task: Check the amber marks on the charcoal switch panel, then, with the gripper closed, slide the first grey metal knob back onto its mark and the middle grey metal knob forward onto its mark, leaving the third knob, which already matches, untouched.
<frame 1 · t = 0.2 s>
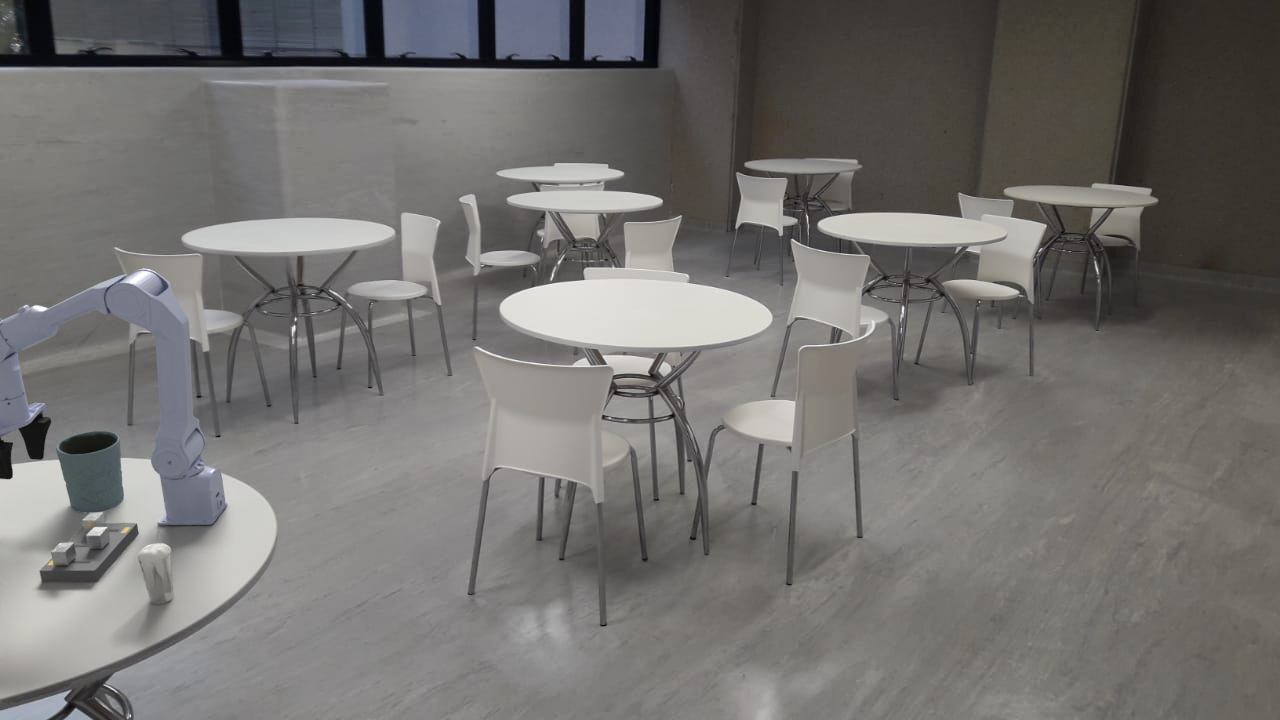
hand: (21, 468, 171), 10 cm above the table, tool pointing down, fingers open, 7 cm apart
teal plant pot: (99, 502, 181), on the table
switch panel: (92, 556, 163), on the table
knob c: (63, 553, 157), point 3 cm above the table, slide at 3.0 cm
knob a: (94, 522, 167), point 3 cm above the table, slide at 3.0 cm
knob b: (98, 537, 162), point 3 cm above the table, slide at 0.0 cm
milkshake: (163, 598, 153), on the table
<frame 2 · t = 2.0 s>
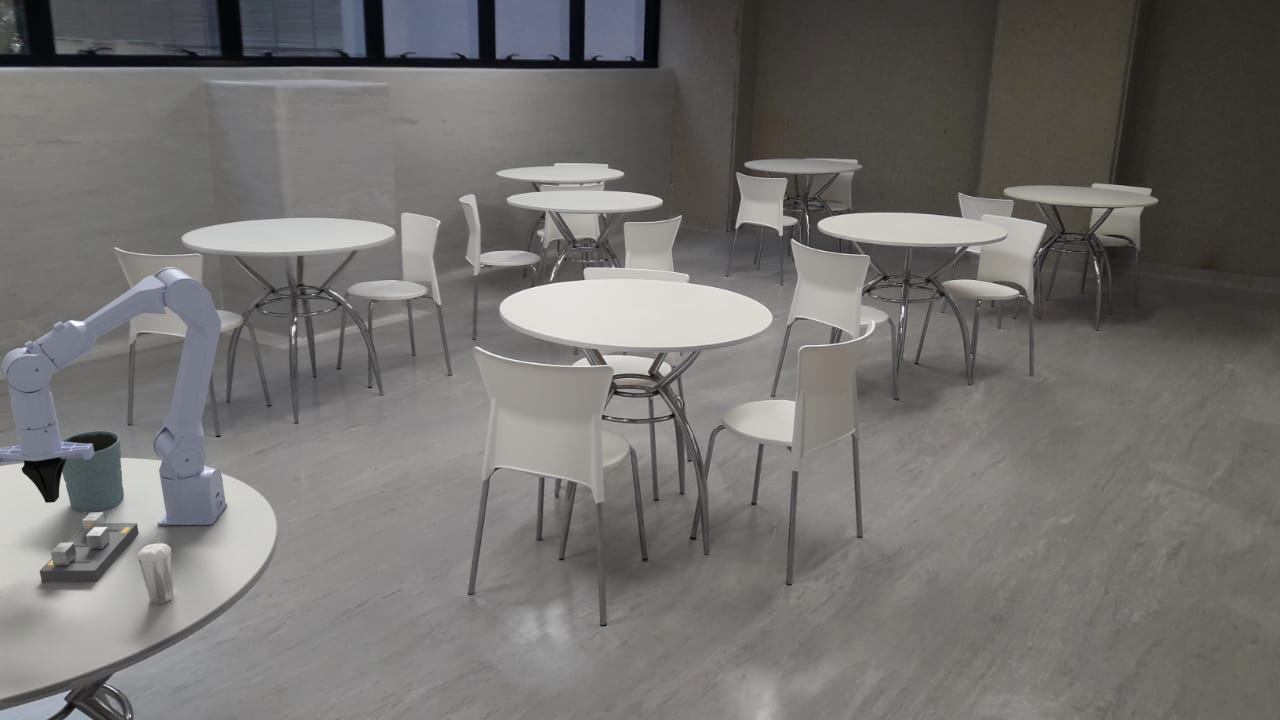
hand: (52, 499, 162), 9 cm above the table, tool pointing down, fingers closed
nothing on the table moved.
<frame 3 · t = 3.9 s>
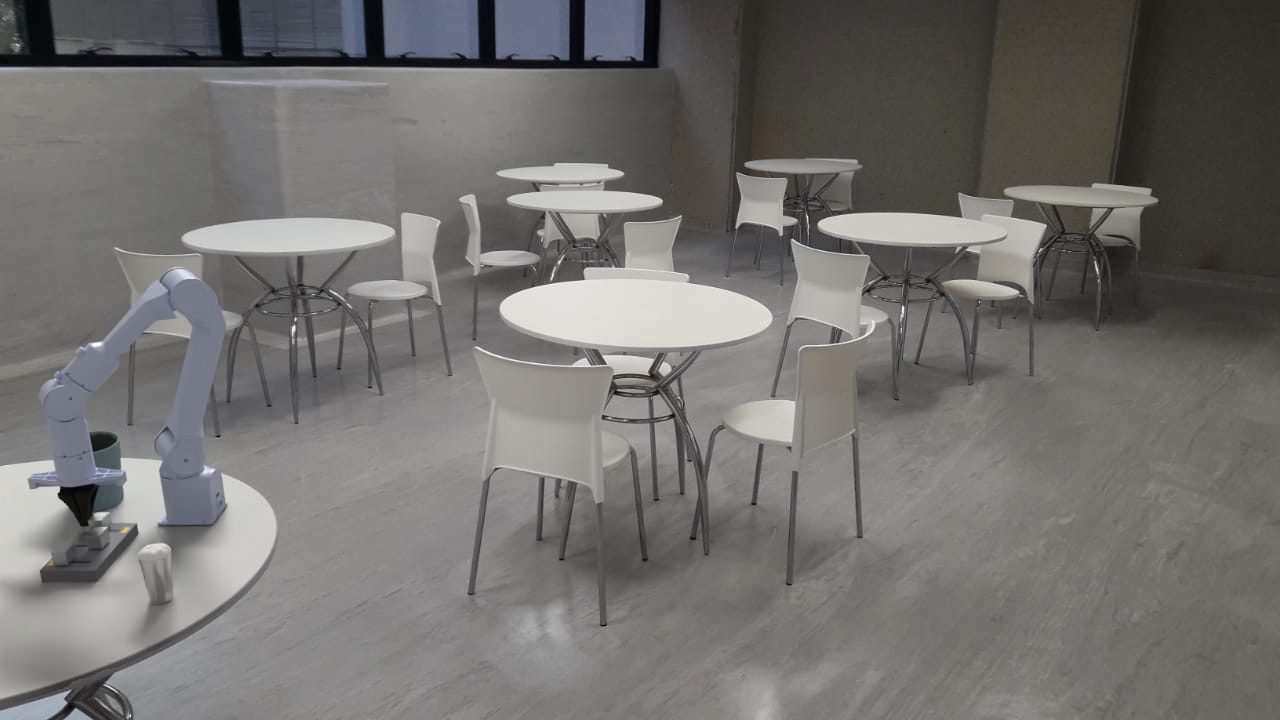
hand: (86, 523, 167), 3 cm above the table, tool pointing down, fingers closed
knob a: (99, 522, 167), point 3 cm above the table, slide at 2.1 cm, touching gripper
everything else where it was.
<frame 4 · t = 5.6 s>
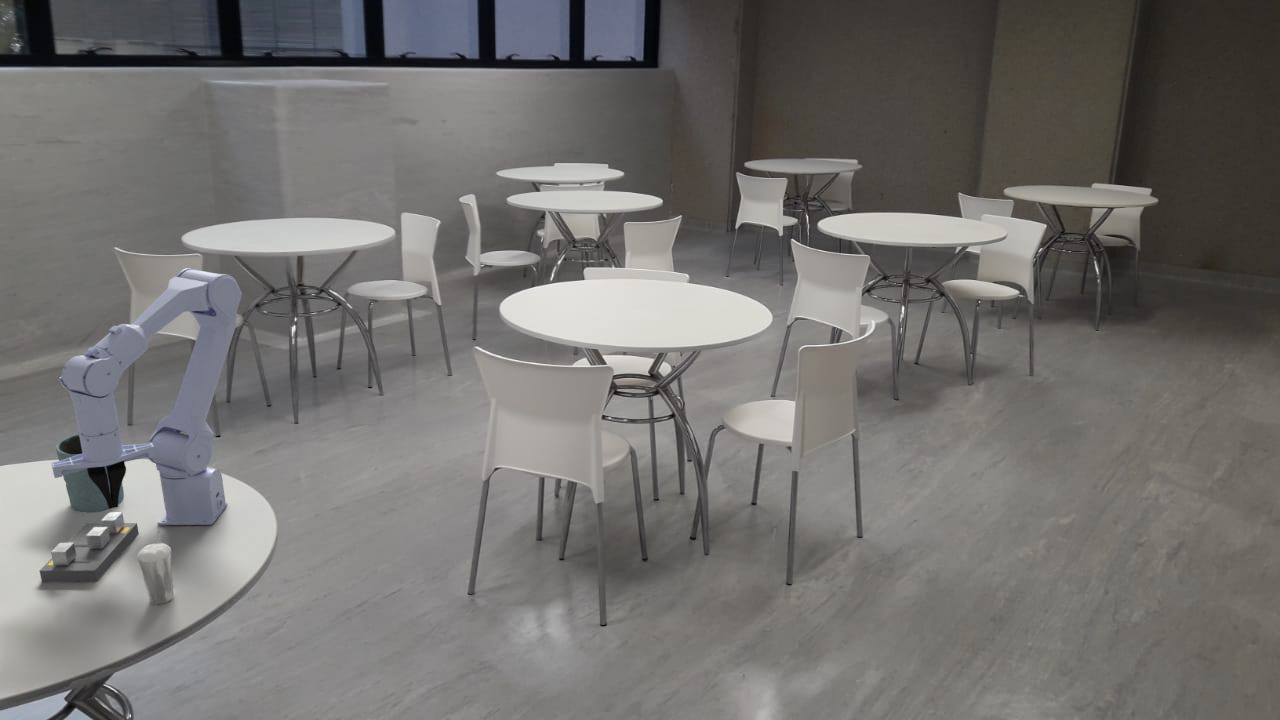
hand: (112, 505, 162), 8 cm above the table, tool pointing down, fingers closed
knob a: (112, 522, 167), point 3 cm above the table, slide at -0.1 cm
everything else where it was.
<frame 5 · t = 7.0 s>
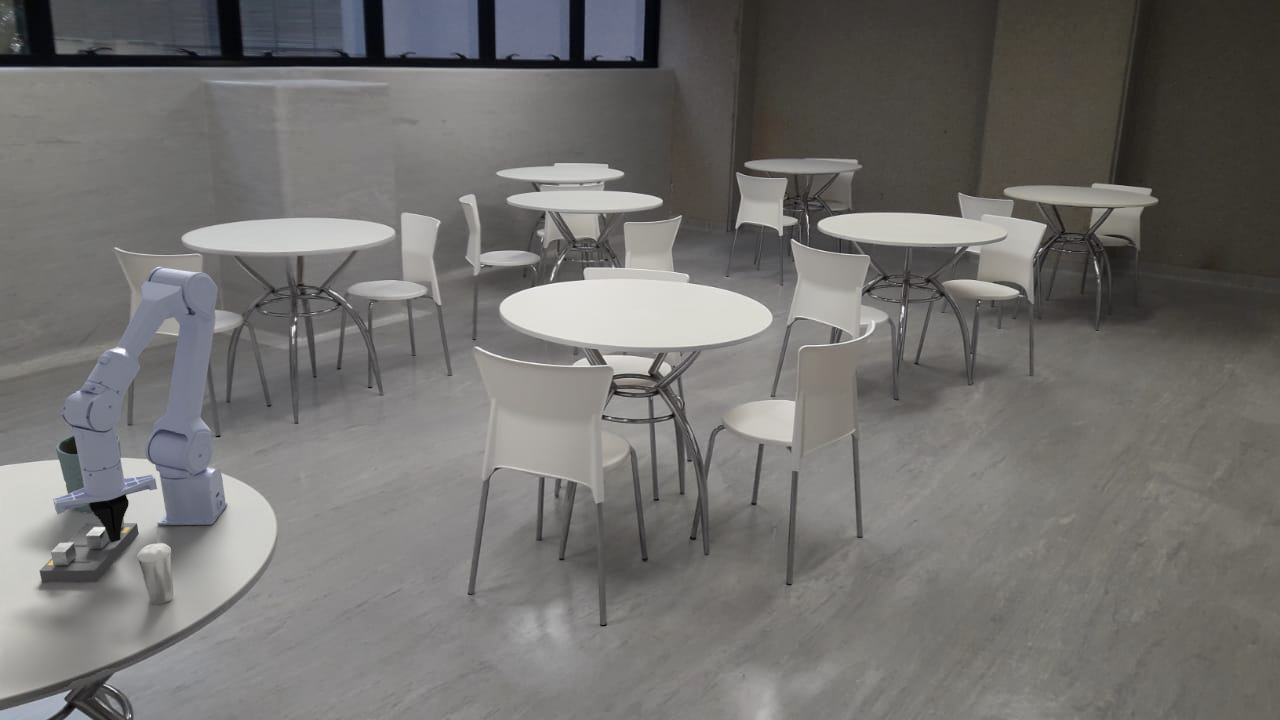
hand: (114, 538, 162), 3 cm above the table, tool pointing down, fingers closed
knob b: (97, 537, 162), point 3 cm above the table, slide at 0.0 cm, touching gripper
everything else where it was.
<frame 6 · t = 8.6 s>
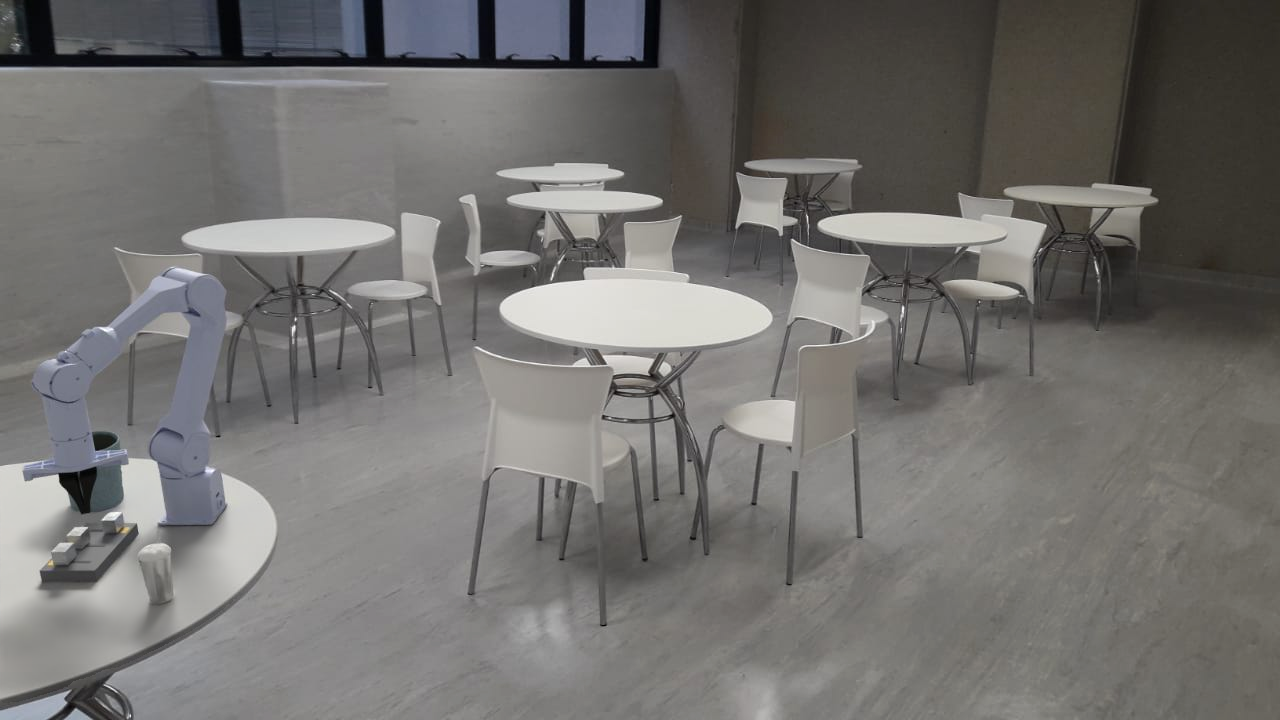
hand: (85, 511, 160), 8 cm above the table, tool pointing down, fingers closed
knob b: (78, 537, 162), point 3 cm above the table, slide at 3.1 cm
everything else where it was.
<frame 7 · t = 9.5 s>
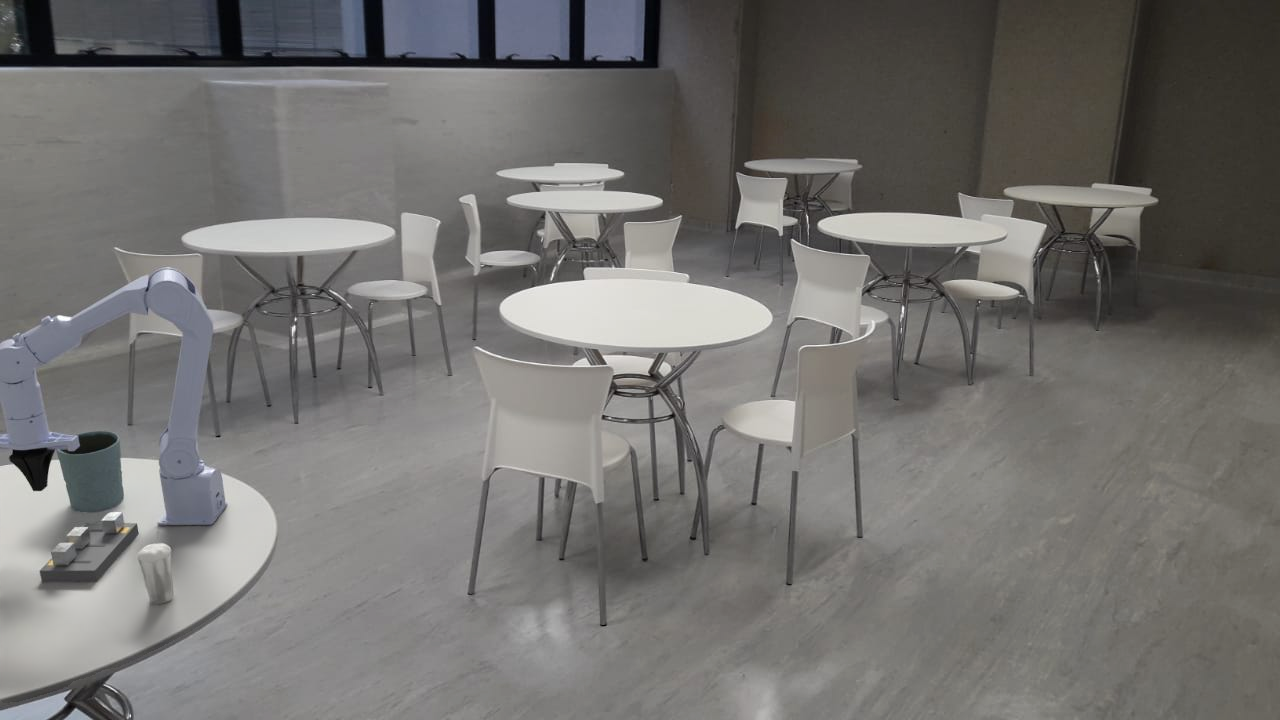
hand: (40, 488, 165), 9 cm above the table, tool pointing down, fingers closed
nothing on the table moved.
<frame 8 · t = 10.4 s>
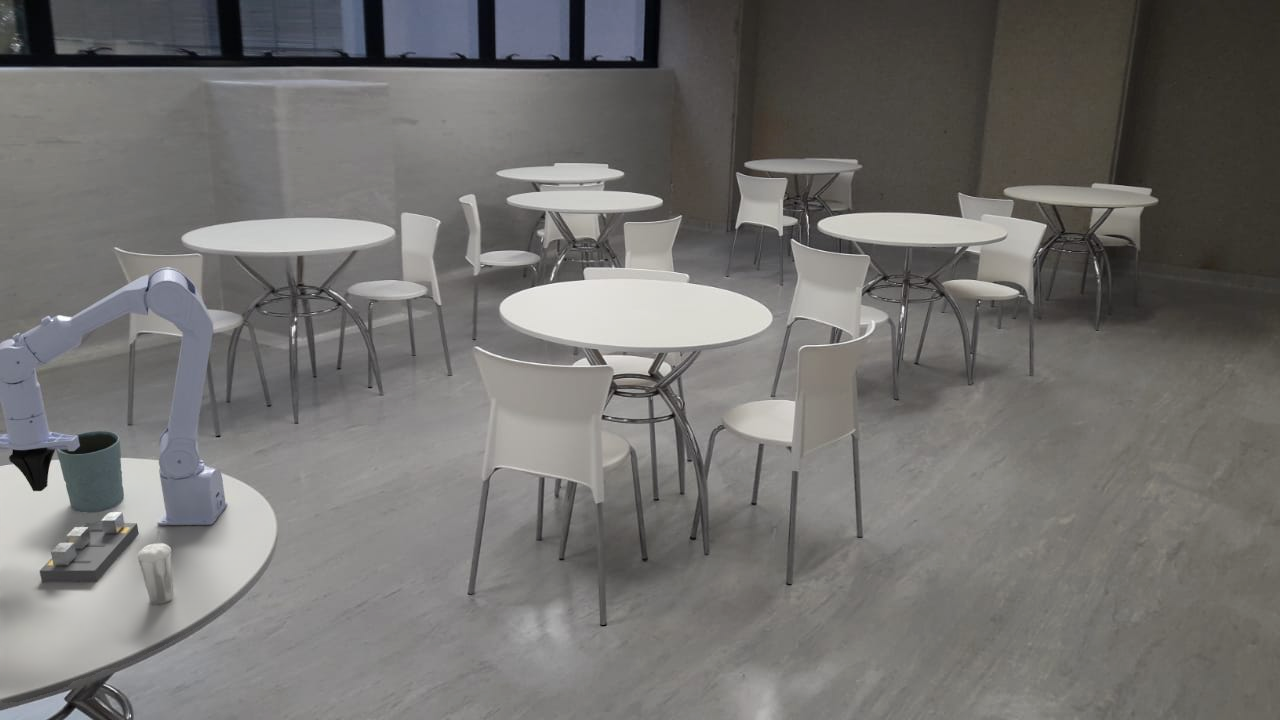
hand: (40, 488, 165), 9 cm above the table, tool pointing down, fingers closed
nothing on the table moved.
at the end: knob a slide at -0.1 cm; knob b slide at 3.1 cm; knob c slide at 3.0 cm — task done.
